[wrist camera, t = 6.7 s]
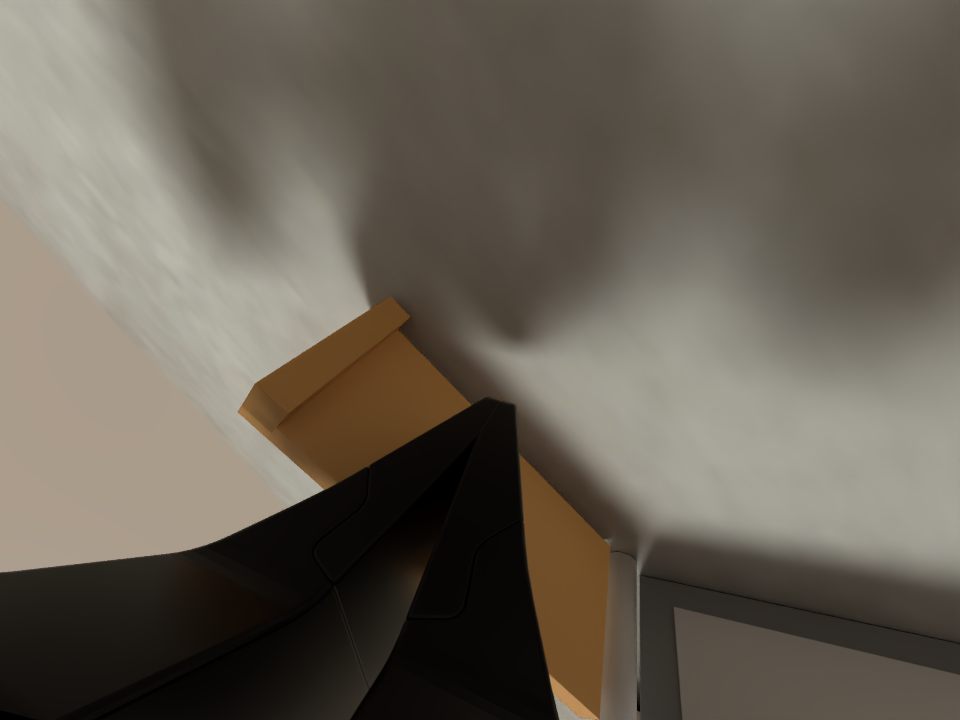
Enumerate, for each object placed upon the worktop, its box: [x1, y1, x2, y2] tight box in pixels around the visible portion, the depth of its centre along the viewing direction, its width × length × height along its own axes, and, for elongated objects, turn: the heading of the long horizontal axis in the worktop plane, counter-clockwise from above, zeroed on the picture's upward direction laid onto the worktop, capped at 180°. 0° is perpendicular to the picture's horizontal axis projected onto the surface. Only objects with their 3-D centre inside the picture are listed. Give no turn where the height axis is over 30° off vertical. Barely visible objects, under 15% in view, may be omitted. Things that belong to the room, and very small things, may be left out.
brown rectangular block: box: [238, 296, 611, 720], centre depth 10 cm, size 11×1×5 cm, turn 46°
